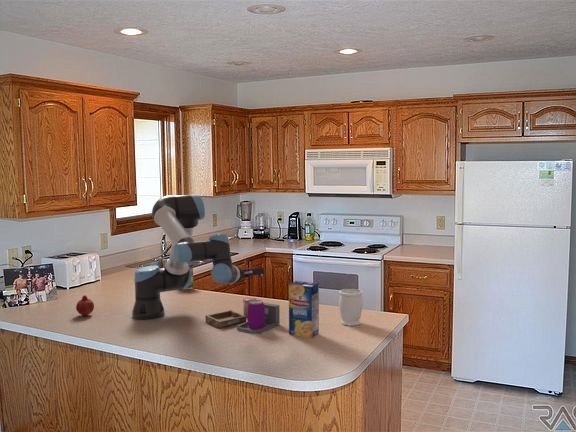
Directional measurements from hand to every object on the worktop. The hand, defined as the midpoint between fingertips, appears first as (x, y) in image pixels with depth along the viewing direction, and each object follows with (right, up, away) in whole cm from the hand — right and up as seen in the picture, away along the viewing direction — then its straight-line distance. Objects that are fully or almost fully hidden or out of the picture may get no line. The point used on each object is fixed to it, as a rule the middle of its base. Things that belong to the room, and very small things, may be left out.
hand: (247, 275), depth 242 cm
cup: (0, -21, +16) cm, 26 cm away
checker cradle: (+5, -23, -2) cm, 23 cm away
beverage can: (+4, -23, -3) cm, 24 cm away
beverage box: (+25, -24, -12) cm, 37 cm away
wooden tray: (-10, -22, +6) cm, 25 cm away
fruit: (-80, -22, +19) cm, 85 cm away
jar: (+47, -22, +3) cm, 52 cm away
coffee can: (-42, -15, +75) cm, 87 cm away
